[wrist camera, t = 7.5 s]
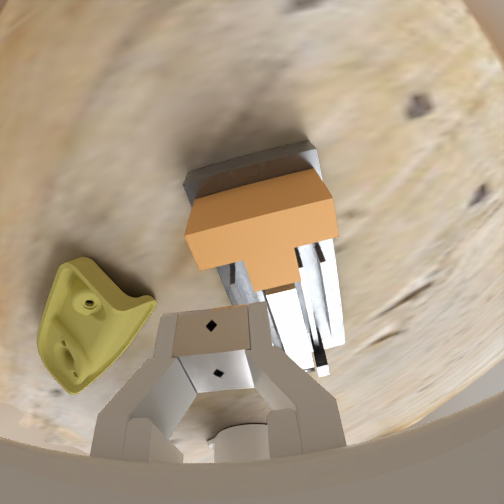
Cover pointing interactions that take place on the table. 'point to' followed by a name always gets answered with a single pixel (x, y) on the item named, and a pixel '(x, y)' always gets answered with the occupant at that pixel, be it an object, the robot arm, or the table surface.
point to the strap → (290, 324)
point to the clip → (262, 226)
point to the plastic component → (87, 324)
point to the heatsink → (308, 256)
